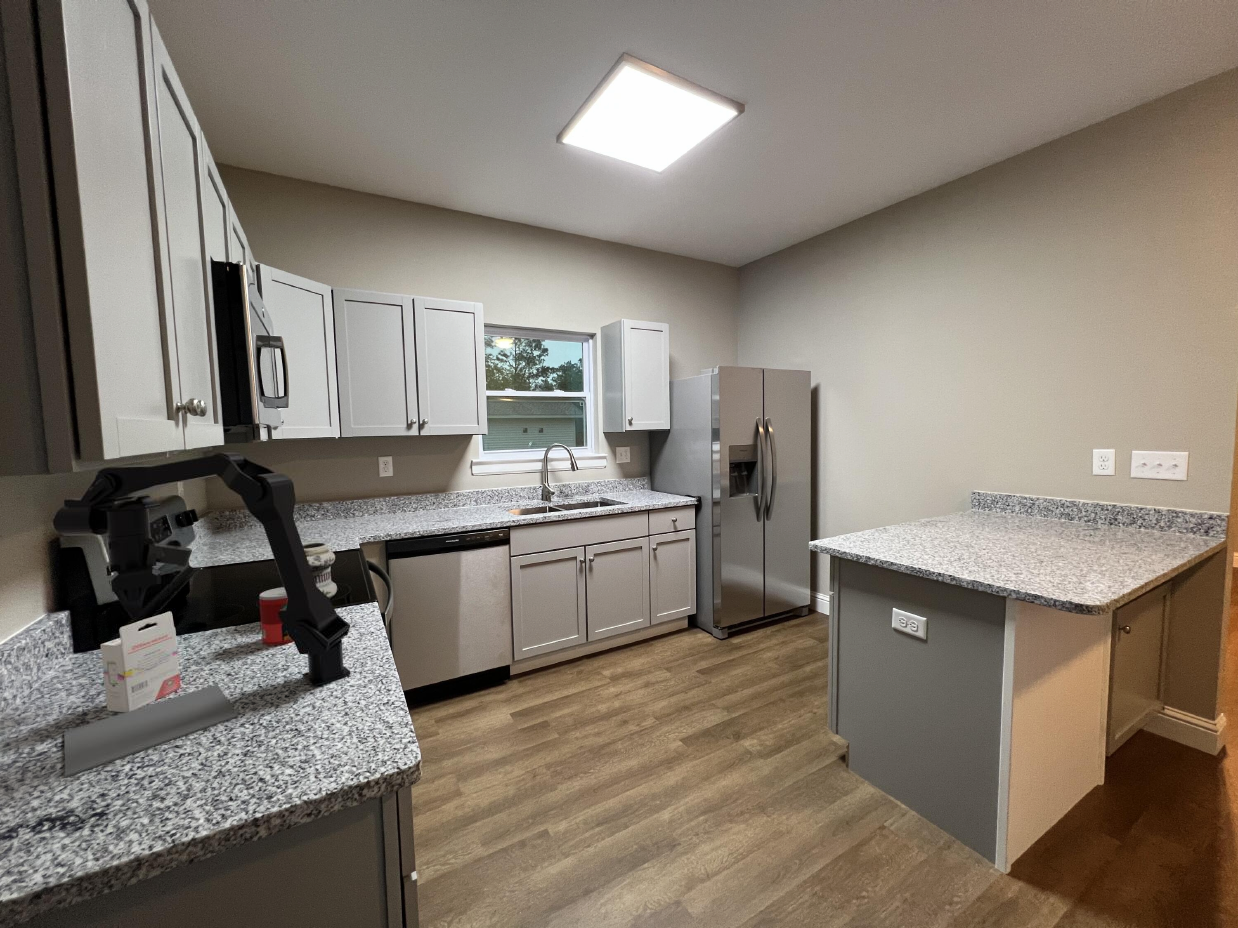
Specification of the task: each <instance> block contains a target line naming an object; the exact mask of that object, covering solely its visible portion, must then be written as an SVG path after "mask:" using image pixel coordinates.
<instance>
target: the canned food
mask: <svg viewBox="0 0 1238 928" xmlns="http://www.w3.org/2000/svg"><path fill="white" fill-rule="evenodd" d="M286 605H287V594H286V591H285V589H284V586H281V587H277V588H272V589H268V590H265V591H262V592H261V593H260V594H259V615H260V628H261V629H260V630H261V639H262V640H261V641H262V642H263V644H264V645H266V646H281V644H282V645H286V644H289V643H294V641H292V640H291V639H290V638H289V636H288V634H287V632H285V633H283V624H282V622H281V620H280V618H279V616H278V612H279V611H280V610H282V609H284V608H285V607H286Z"/></svg>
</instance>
